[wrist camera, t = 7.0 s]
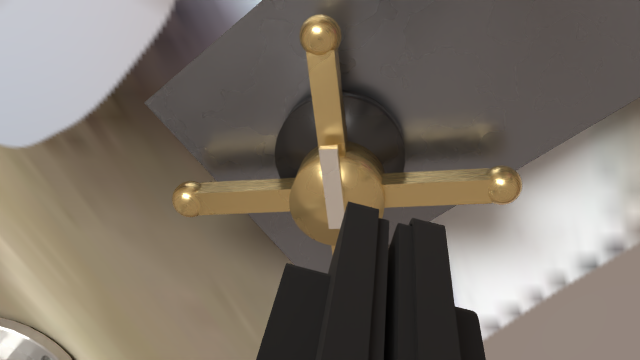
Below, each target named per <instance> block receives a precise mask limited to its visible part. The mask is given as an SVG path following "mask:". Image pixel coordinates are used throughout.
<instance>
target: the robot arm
mask: <svg viewBox="0 0 640 360" xmlns="http://www.w3.org/2000/svg"><path fill="white" fill-rule="evenodd" d="M388 244H389V220H386V219H382V218H379V209H376V208H372V207H369V206H365V205H361V204H357V203H353V202H349V201H348V203H347V206H346V210H345V213H344V217H343V220H342V224H341V227H340V231H339V235H338V238H337V242H336V246H335V249H334V253H333V256H332V260H331V264H330V267H329V271H328V274H327V273H323V272H319V271H315V270H311V269H307V268H303V267H299V266H295V265H292V264H288V263H287V264H286V266H285V269H284V272H283V275H282V278H281V282H280V285H279V288H278V291H277V294H276V298H275V301H274V304H273V307H272V310H271V314H270V317H269V320H268V323H267V327H266V330H265V333H264V336H263V339H262V343H261V346H260V349H259V352H258V355H257V359H256V360H486V359H485V353H484V347H483V342H482V336H481V330H480V324H479V319H478V316H477V314H476V313H475V312H474V311H471V310H467V309H463V308H459V307H455V305H454V297H453V289H452V280H451V272H450V264H449V256H448V248H447V239H446V231H445V226H443V225H439V224H435V223H431V222H427V221H423V220H420V219H416V218H412V219H411V220H410V222H409V225H405V224H402V223H398V224H397V226H396V229H395V232H394V235H393V238H392V241H391V244H390V247H389V250H388ZM0 360H72V358H71V357H70V356H69V355H68V354H67V353H66V352H65V351H64V350H63V349H62V348H61V347H60V346H59V345H58V344H56V343H55V342H54V341H52V340H51V339H49V338H48V337H47V336H45V335H44V334H42V333H40V332H38V331H36V330H34V329H33V328H31V327H29V326H26V325H23V324H21V323H18V322H16V321H13V320H8V319H4V318H0Z"/></svg>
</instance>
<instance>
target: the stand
mask: <svg viewBox="0 0 640 360" xmlns="http://www.w3.org/2000/svg"><path fill="white" fill-rule="evenodd" d="M316 14H325V15H328V16H330V17H332V18H333V19H335V20H336V22H337V23H338V24H339V26H340V29H341V33H342V39H341V43H340V46H339V47H338V55H339V64H340V74H341V83H342V90H348V91H354V92H358V93H361V94H364V95H367V96H369V97H371V98H373V99H375V100H376V101H378V102H379V103H380V104H382V105H383V106H384V107H385V108H386V109H387V110H389V112H390V113H391V114H392V115H393V116H394V118H395V119H396V121H397V123H398V124H399V126H400V129H401V131H402V134H403V137H404V142H405V167H404V172H422V171H442V170H462V169H482V168H489V169H490V168H492V167H495V166H500V165H503V166H508V167H511V168H513V169H514V170H517V169H519V168H520V167H522V166H524V165H525V164H527V163H529V162H531V161H532V160H534V159H536V158H537V157H539V156H541V155H542V154H544V153H546V152H548V151H549V150H551V149H553V148H554V147H556V146H558V145H559V144H561V143H563V142H564V141H566V140H568V139H570V138H571V137H573V136H575V135H576V134H578V133H580V132H581V131H583V130H585V129H587V128H588V127H590V126H592V125H593V124H595V123H597V122H598V121H600V120H602V119H604V118H605V117H607V116H609V115H610V114H612V113H614V112H615V111H617V110H619V109H620V108H622V107H624V106H626V105H627V104H629V103H631V102H632V101H634V100H636V99H637V98H639V97H640V0H262V1H261V2H260V3H259V4H258V5H256V6H255V7H254V8H253V9H252V10H251V11H250V12H248V13H247V14H246V15H245V16H244V17H243V18H241V19H240V20H239V21H238V22H237V23H236V24H235V25H233V26H232V27H231V28H230V29H229V30H228V31H226V32H225V33H224V34H223V35H222V36H221V37H220V38H218V39H217V40H216V41H215V42H214V43H213V44H212V45H210V46H209V47H208V48H207V49H206V50H205V51H203V52H202V53H201V54H200V55H199V56H198V57H197V58H195V59H194V60H193V61H192V62H191V63H190V64H188V65H187V66H186V67H185V68H184V69H183V70H182V71H180V72H179V73H178V74H177V75H176V76H175V77H173V78H172V79H171V80H170V81H169V82H168V83H167V84H165V85H164V86H163V87H162V88H161V89H160V90H158V91H157V92H156V93H155V94H154V95H153V96H152V97H150V98H149V99H148V100H147V101H146V102H145V104H146V105H147V106H148V107H149V108H150V109H151V110H152V112H153V113H154V114H155V115H156V116H157V117H158V118H159V119H160V120H161V121H162V122H163V123H164V124H165V126H166V127H167V128H168V129H169V130H170V131H171V132H172V133H173V134H174V135H175V136H176V137H177V138H178V140H179V141H180V142H181V143H182V144H183V145H184V146H185V147H186V148H187V149H188V150H189V151H190V152H191V154H192V155H193V156H194V157H195V158H196V159H197V160H198V161H199V162H200V163H201V164H202V165H203V166H204V168H205V169H206V170H207V171H208V172H209V173H210V174H211V175H212V176H213V177H214V178H215V179H216V180H217V182H222V181H242V180H262V179H281V178H280V176H279V174H278V171H277V167H276V163H275V145H276V139H277V137H278V134H279V131H280V129H281V127H282V125H283V123H284V122H285V120H286V118H287V116H288V115H289V114H290V112H291V111H292V110H293V109H294V108H295V107H296V106H297V105H298V104H299V103H301V102H302V101H303V100H305V99H307V98H308V97H310V96H312V94H311V87H310V79H309V72H308V64H307V56H306V51H305V50H304V49H303V47H302V46H301V43H300V39H299V33H300V29H301V26H302V24H303V23H304V22H305V20H307V19H308V18H309V17H311V16H313V15H316ZM454 206H456V205H437V206H412V207H388V208H384V214H383V217H382V219H386V220H389V244H388V245H390V244H391V241H392V238H393V235H394V232H395V229H396V226H397V224H398V223H402V224H405V225H409V222H410V220H411V219H412V218H416V219H420V220H423V221H427V222H429V221H430V220H432V219H434V218H436V217H437V216H439V215H441V214H442V213H444V212H446V211H447V210H449V209H451V208H452V207H454ZM247 214H248V215H249V216H250V217H251V218H252V219H253V220H254V221H255V223H256V224H257V225H258V226H259V227H260V228H261V229H262V230H263V231H264V232H265V233H266V234H267V235H268V237H269V238H270V239H271V240H272V241H273V242H274V243H275V244H276V245H277V246H278V247H279V248H280V249H281V251H282V252H283V253H284V254H285V255H286V256H287V257H288V258H289V259H290V260H291V261H292V262H293V263H294V265H295V266H299V267H303V268H307V269H311V270H315V271H319V272H323V273H327V274H328V271H329V267H330V264H331V260H332V256H333V255H332V247H331V245H327V244H323V243H320V242H318V241H316V240H314V239H312V238H310V237H309V236H307V235H306V234H305V233H304V232H303V231H302V230H301V229H300V228H299V227H298V226H297V224H296V223H295V221H294V219H293V217H292V215H291V212H290V211H288V212H263V213H247Z"/></svg>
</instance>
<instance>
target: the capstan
mask: <svg viewBox="0 0 640 360" xmlns="http://www.w3.org/2000/svg"><path fill="white" fill-rule="evenodd" d="M299 39H300V43H301V46H302V47H303V49H304V50H305V51H306V56H307V64H308V72H309V79H310V87H311V94H312V96H310V97H308V98H307V99H305V100H303V101H302V102H301V103H299V104H298V105H297V106H296V107H295V108H294V109H293V110H292V111H291V112H290V114H289V115H288V116H287V118H286V120H285V122H284V123H283V125H282V127H281V129H280V131H279V134H278V137H277V139H276V145H275V163H276V167H277V171H278V174H279V176H280V178H281V179H262V180H242V181H222V182H202V183H201V184H200V183H198V182H195V181H187V182H184V183H182V184H180V185H179V186H178V187H177V188H176V189H175V191H174V193H173V197H172V201H173V205H174V208H175V209H176V211H177V212H178V213H180V214H181V215H183V216H186V217H195V216H198V215H213V214H238V213H263V212H288V211H290V212H291V215H292V217H293V219H294V221H295V223H296V224H297V226H298V227H299V228H300V229H301V230H302V231H303V232H304V233H305V234H306V235H307V236H309V237H310V238H312V239H314V240H316V241H318V242H320V243H323V244H327V245H331V247H332V255H333V253H334V249H335V246H336V242H337V238H338V235H339V231H340V227H341V224H342V220H343V217H344V213H345V210H346V206H347V203H348V201H349V202H353V203H357V204H361V205H365V206H369V207H372V208H376V209H379V218H382V217H383V214H384V208H388V207H412V206H437V205H462V204H487V203H494V204H499V205H505V204H509V203H511V202H513V201H514V200H515V199H516V198H517V197H518V196H519V195H520V192H521V190H522V181H521V178H520V176H519V174H518V173H517V172H516V171H515V170H514V169H513V168H511V167H508V166H503V165H500V166H495V167H492V168H490V169H489V168H482V169H462V170H442V171H422V172H404V167H405V142H404V137H403V134H402V131H401V129H400V126H399V124H398V123H397V121H396V119H395V118H394V116H393V115H392V114H391V113H390V112H389V110H387V109H386V108H385V107H384V106H383V105H382V104H380V103H379V102H378V101H376V100H375V99H373V98H371V97H369V96H367V95H364V94H361V93H358V92H354V91H348V90H342V83H341V74H340V64H339V55H338V47H339V46H340V43H341V39H342V33H341V29H340V26H339V24H338V23H337V22H336V20H335V19H333V18H332V17H330V16H328V15H325V14H316V15H313V16H311V17H309V18H308V19H307V20H305V22H304V23H303V24H302V26H301V29H300V33H299Z"/></svg>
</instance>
